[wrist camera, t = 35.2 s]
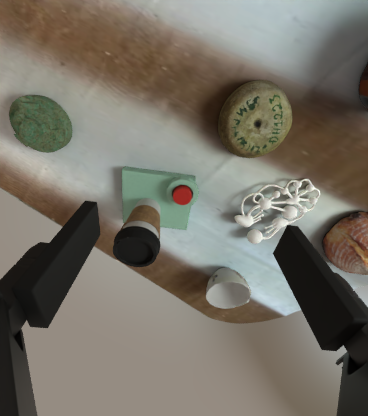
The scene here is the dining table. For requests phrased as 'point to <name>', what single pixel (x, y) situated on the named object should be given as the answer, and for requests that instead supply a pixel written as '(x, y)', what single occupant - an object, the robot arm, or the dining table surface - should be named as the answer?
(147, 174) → the green button base
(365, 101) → the food container
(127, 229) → the coffee cup
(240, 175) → the dining table surface
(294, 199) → the tangled rod sculpture
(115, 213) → the dining table surface
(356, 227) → the bread
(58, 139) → the decorative artifact
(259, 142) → the weight
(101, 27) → the dining table surface
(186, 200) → the red push button
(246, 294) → the teacup
